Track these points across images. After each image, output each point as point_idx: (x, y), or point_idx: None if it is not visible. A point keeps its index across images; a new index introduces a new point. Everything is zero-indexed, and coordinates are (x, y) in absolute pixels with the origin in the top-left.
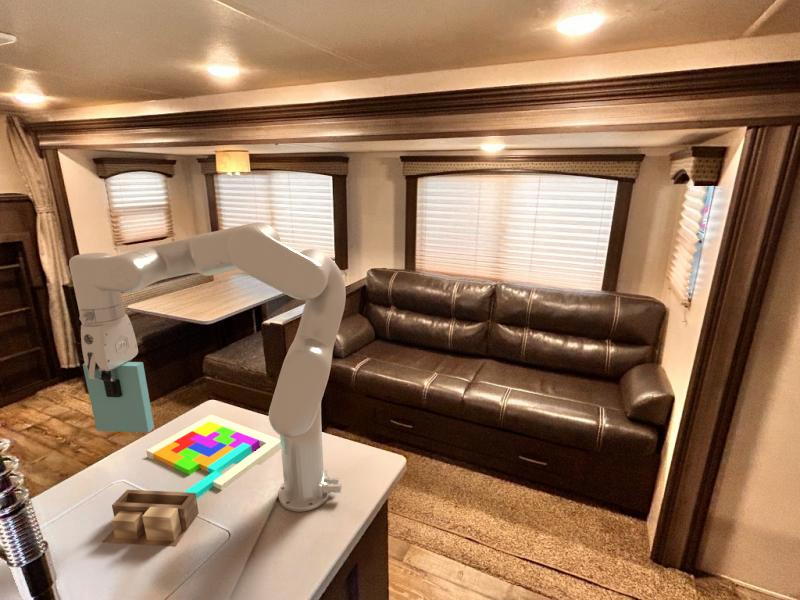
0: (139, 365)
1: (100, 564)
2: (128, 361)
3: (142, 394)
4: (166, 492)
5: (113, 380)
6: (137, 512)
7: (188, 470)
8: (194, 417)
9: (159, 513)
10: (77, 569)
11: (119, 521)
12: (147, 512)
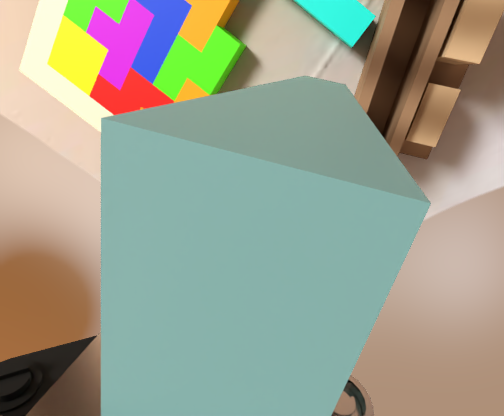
0: (297, 154)
1: (478, 140)
2: (14, 391)
3: (348, 98)
4: (382, 38)
5: (344, 388)
6: (425, 95)
7: (239, 46)
8: (28, 120)
9: (486, 16)
10: (474, 177)
11: (443, 127)
12: (468, 54)
